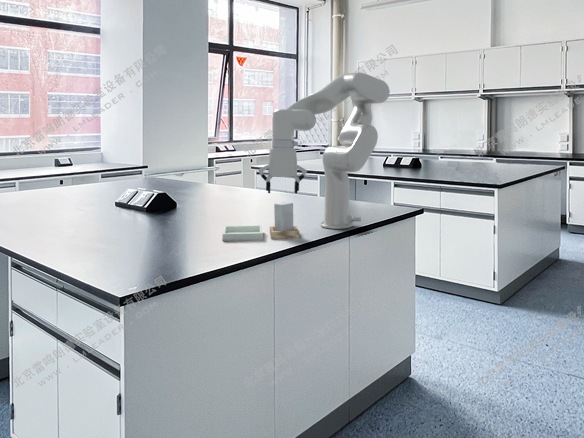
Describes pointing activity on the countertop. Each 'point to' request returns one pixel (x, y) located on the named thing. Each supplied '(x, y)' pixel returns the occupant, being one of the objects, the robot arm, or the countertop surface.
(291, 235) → the wooden square frame
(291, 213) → the skincare box
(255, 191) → the countertop surface
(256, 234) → the tray
